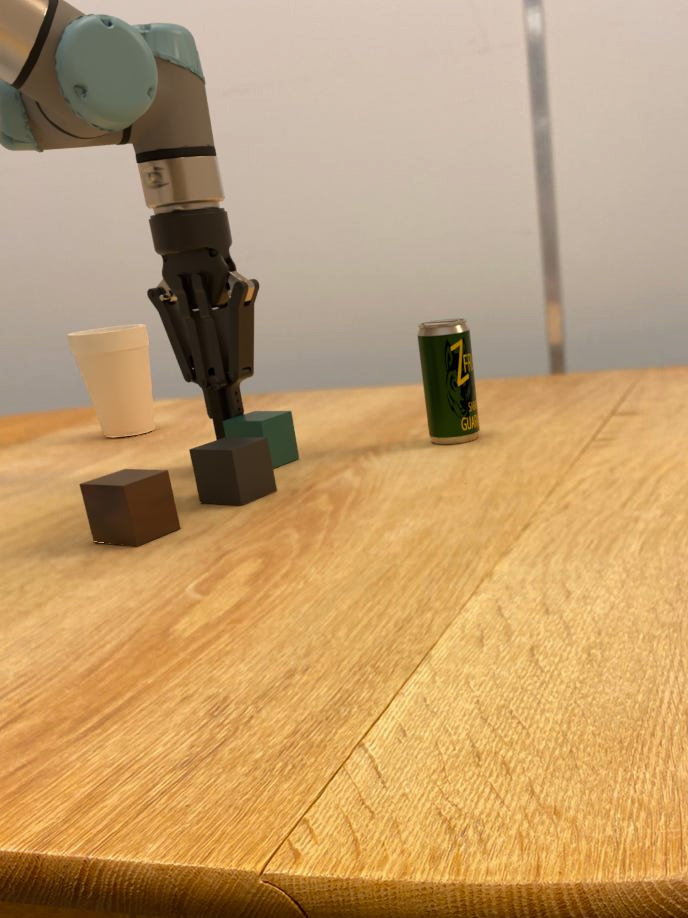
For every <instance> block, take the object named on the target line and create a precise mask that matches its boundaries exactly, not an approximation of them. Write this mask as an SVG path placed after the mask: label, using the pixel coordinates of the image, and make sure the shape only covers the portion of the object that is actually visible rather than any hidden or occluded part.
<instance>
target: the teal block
mask: <svg viewBox="0 0 688 918" xmlns="http://www.w3.org/2000/svg"><path fill="white" fill-rule="evenodd" d="M223 425H224V430H225V435H226V437H267V438H268V443H269V448H270V454H271V460H272V465H273V470H275V469H276V468H279V467H281V466H284V465H286V464H288V463H292V462H293V461H296V460H298V459H300V454H299V453H300V452H299V449H298V444H297V443H298V442H297V436H296V430H295V423H294V419H293V412H292V410H253V411H249V412H247V413H244V414H243V415H240V416H237V417H234V418H231V419H228V420H225V421H223Z"/></svg>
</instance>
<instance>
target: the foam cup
mask: <svg viewBox="0 0 688 918" xmlns="http://www.w3.org/2000/svg"><path fill="white" fill-rule="evenodd" d="M147 329H148V328H147V325H146V324H143V323H140V324H139V323H137V324H124V325H114V326H106V327H98V328H91V329H86V330H80V331H74V332H71V333H68V334H67V335H66V336H67V340H68V344H69V345H68V346H69V348H70V353H71V355H73V357H74V359H75V362H76V365H77V367H78V370H79V373H80V375H81V378H82V381H83V383H84V386H85V388H86V389H85V390H87V394H88V396H89V399H90V402H91V405H92V407H93V411H94V412H95V415H96V418H97V420H98V423H99V426H100V429H101V431H102V433H103V436H104V435H106V436H125V435H132V434H139V433H143V432H147V431H150V430H153V429H154V428H155V429H156V427H155V424H156V421H155V412H154V411H155V408H154V397H153V387H152V375H151V361H150V351H149V350H150V349H149V345H150V339H149V333H148V330H147Z"/></svg>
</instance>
